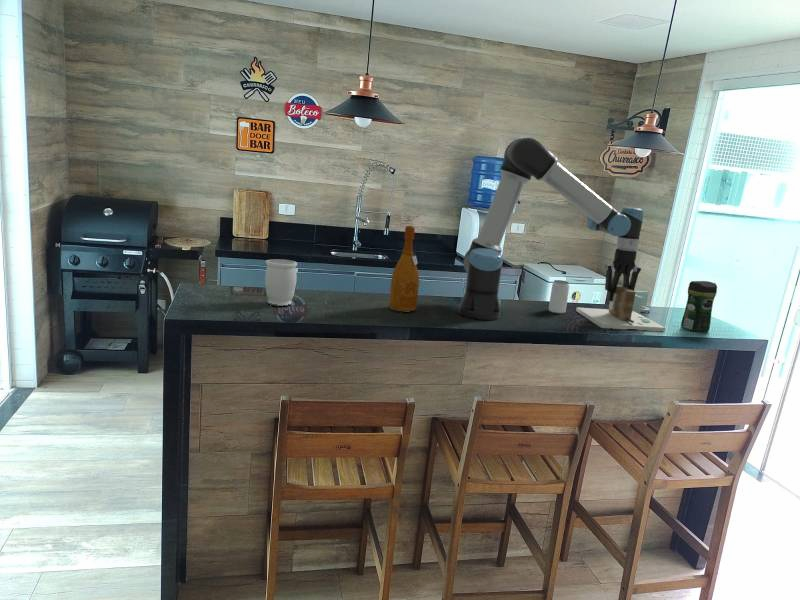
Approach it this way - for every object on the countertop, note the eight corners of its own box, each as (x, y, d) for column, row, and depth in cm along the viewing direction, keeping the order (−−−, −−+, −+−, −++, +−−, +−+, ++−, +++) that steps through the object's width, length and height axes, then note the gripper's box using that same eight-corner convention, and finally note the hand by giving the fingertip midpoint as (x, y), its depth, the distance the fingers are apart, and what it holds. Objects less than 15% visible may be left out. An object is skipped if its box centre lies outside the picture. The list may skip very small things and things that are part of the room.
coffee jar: (695, 326, 228) (705, 279, 223) (712, 332, 220) (723, 283, 216) (676, 326, 224) (685, 278, 220) (692, 332, 217) (702, 283, 213)
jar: (263, 307, 199) (265, 263, 195) (264, 300, 209) (265, 258, 205) (295, 308, 201) (298, 265, 198) (294, 301, 211) (296, 259, 207)
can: (563, 310, 234) (568, 280, 232) (566, 314, 228) (571, 284, 226) (547, 308, 235) (551, 279, 232) (549, 312, 229) (554, 282, 226)
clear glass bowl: (638, 315, 240) (641, 297, 238) (620, 308, 251) (623, 290, 249) (662, 316, 243) (666, 298, 242) (643, 308, 254) (647, 291, 253)
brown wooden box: (608, 312, 230) (613, 284, 228) (615, 312, 231) (620, 285, 228) (628, 323, 214) (633, 294, 212) (636, 324, 214) (641, 294, 212)
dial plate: (601, 327, 212) (602, 323, 212) (576, 311, 235) (576, 306, 235) (664, 331, 215) (665, 327, 214) (633, 314, 238) (634, 310, 238)
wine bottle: (397, 314, 206) (404, 227, 199) (384, 307, 214) (391, 224, 207) (421, 312, 211) (429, 228, 204) (407, 306, 219) (415, 224, 212)
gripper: (610, 249, 218) (599, 310, 223) (651, 252, 220) (640, 313, 225) (601, 246, 225) (591, 306, 231) (641, 249, 227) (631, 308, 232)
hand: (615, 309), depth 228 cm, fingers closed on brown wooden box, 3 cm apart
